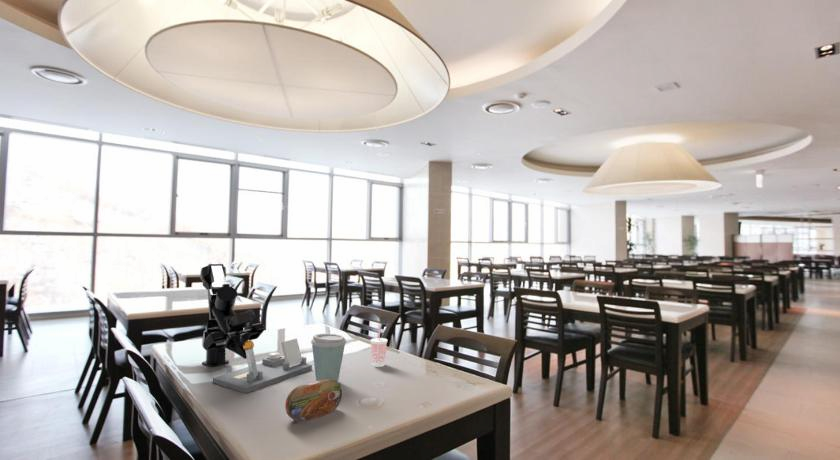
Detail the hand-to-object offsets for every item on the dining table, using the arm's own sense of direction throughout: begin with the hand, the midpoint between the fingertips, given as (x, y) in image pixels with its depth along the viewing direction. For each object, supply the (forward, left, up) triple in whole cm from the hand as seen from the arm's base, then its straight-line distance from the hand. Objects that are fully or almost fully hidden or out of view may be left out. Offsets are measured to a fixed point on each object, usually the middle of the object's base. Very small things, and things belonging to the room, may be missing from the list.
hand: (246, 357), depth 126 cm
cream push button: (-4, +14, -5) cm, 15 cm away
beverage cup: (+24, +37, -8) cm, 45 cm away
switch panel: (0, +7, -7) cm, 10 cm away
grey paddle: (+4, +16, -5) cm, 17 cm away
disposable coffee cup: (+22, +13, -8) cm, 27 cm away
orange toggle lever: (+4, 0, -5) cm, 7 cm away
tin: (+35, -6, -8) cm, 36 cm away
